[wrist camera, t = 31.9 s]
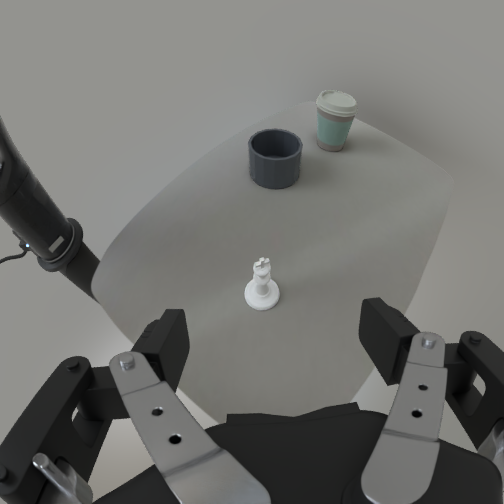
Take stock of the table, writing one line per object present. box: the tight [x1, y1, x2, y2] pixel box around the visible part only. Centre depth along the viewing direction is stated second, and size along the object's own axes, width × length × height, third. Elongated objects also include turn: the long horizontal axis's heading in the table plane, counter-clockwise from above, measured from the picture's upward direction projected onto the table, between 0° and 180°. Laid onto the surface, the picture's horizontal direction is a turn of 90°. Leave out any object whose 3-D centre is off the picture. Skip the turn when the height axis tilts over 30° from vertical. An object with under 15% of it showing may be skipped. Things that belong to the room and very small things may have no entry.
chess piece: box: [245, 257, 280, 310], centre depth 35 cm, size 5×5×10 cm
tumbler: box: [248, 129, 303, 189], centre depth 48 cm, size 9×9×7 cm
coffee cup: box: [316, 90, 358, 152], centre depth 51 cm, size 8×9×12 cm
